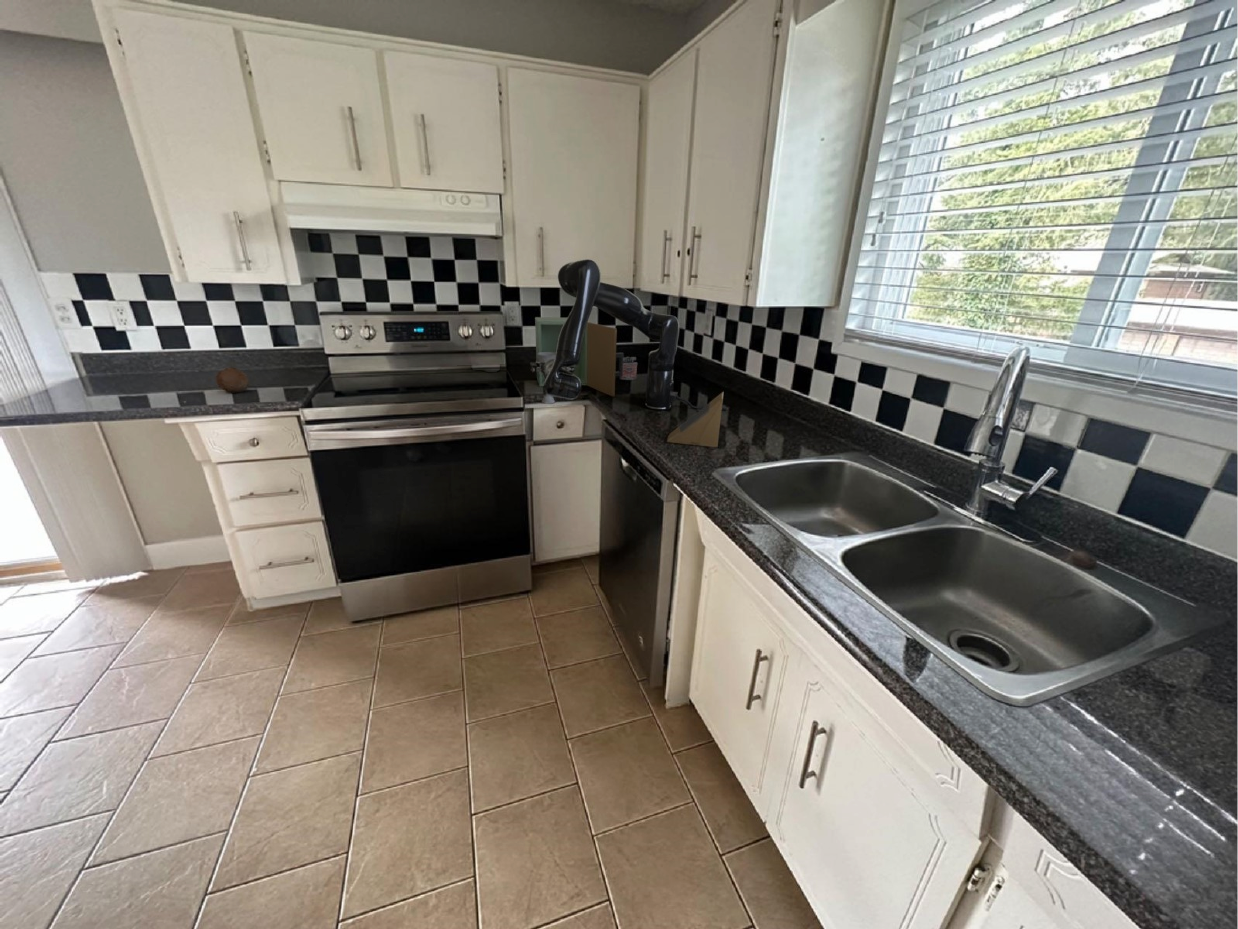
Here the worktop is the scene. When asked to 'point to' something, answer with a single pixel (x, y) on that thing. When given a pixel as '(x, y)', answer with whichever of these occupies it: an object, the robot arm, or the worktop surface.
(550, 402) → the chalice
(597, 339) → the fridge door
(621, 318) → the robot arm
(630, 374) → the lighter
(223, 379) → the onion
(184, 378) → the worktop surface
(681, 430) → the sandwich container
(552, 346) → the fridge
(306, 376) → the worktop surface
